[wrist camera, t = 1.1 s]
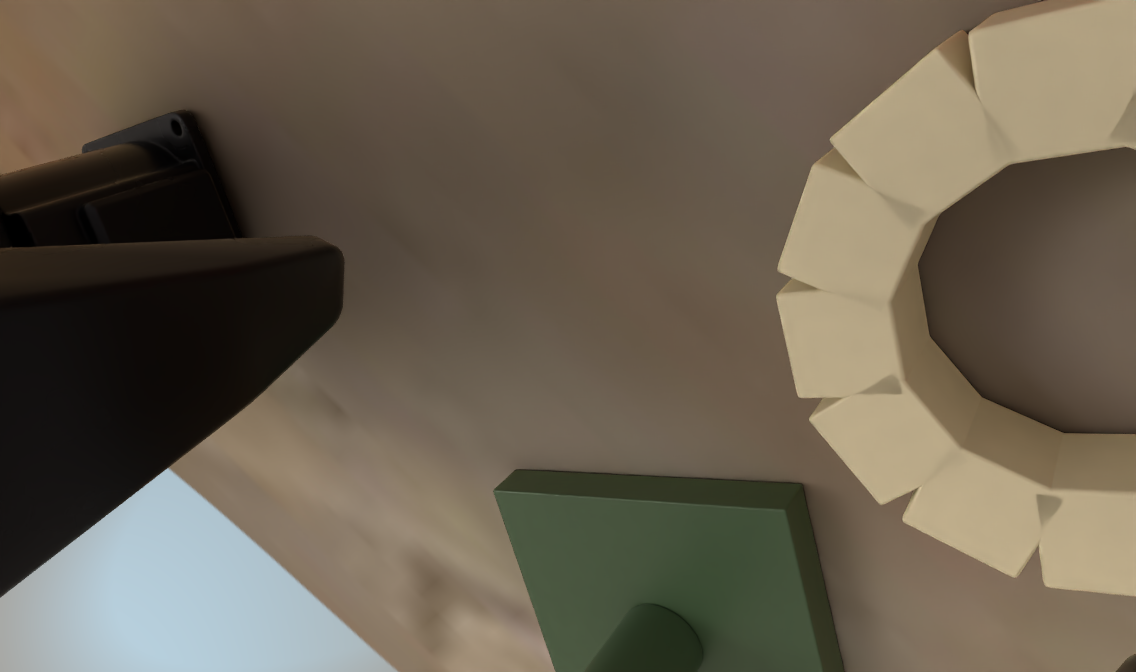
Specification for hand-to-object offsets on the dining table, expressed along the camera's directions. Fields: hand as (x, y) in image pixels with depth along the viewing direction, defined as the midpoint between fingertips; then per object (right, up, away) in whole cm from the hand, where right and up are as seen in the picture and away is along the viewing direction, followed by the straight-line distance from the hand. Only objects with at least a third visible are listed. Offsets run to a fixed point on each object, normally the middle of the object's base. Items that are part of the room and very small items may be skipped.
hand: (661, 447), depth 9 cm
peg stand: (+2, -7, +16) cm, 18 cm away
